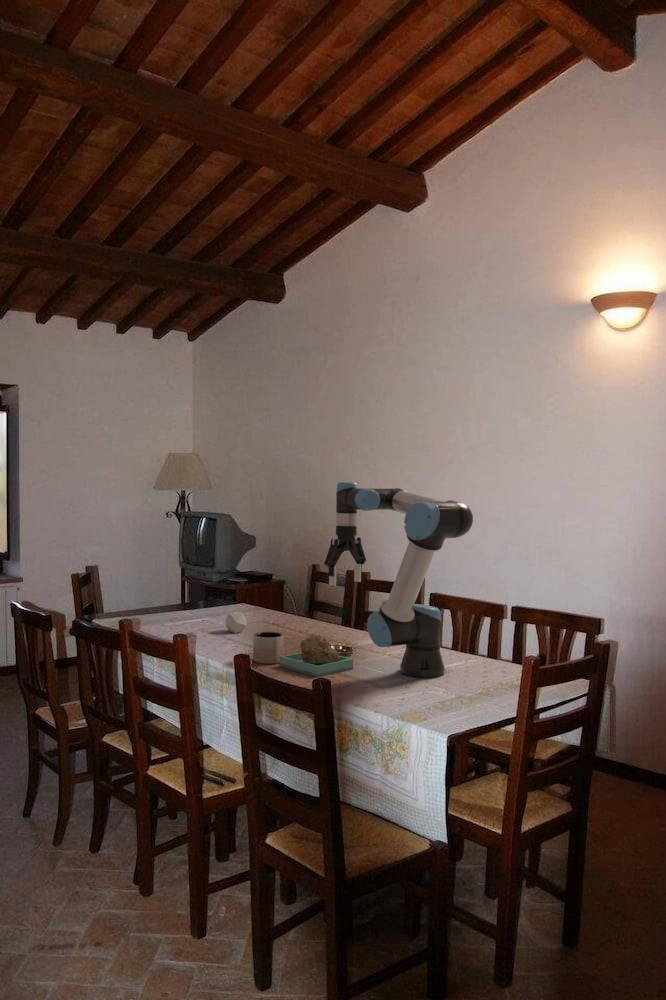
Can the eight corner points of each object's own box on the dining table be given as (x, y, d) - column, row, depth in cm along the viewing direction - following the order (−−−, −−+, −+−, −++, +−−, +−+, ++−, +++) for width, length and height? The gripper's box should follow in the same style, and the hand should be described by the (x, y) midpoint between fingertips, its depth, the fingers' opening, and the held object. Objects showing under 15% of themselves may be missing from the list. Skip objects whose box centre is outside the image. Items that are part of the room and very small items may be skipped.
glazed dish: (353, 669, 289) (353, 659, 289) (317, 677, 277) (317, 666, 277) (315, 658, 302) (315, 649, 302) (279, 666, 290) (279, 656, 290)
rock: (306, 652, 281) (327, 634, 286) (288, 647, 292) (309, 630, 296) (322, 677, 284) (343, 659, 288) (304, 672, 294) (324, 654, 299)
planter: (271, 666, 290) (272, 639, 290) (246, 661, 296) (247, 635, 296) (289, 660, 300) (290, 633, 299) (265, 656, 305) (265, 630, 305)
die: (250, 634, 346) (250, 612, 351) (239, 626, 339) (238, 604, 345) (233, 639, 349) (232, 618, 354) (221, 632, 342) (221, 610, 348)
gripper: (360, 522, 313) (359, 579, 314) (315, 525, 295) (314, 585, 295) (376, 524, 308) (375, 581, 309) (330, 526, 290) (329, 587, 290)
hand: (345, 583), depth 302 cm, fingers open, 13 cm apart
